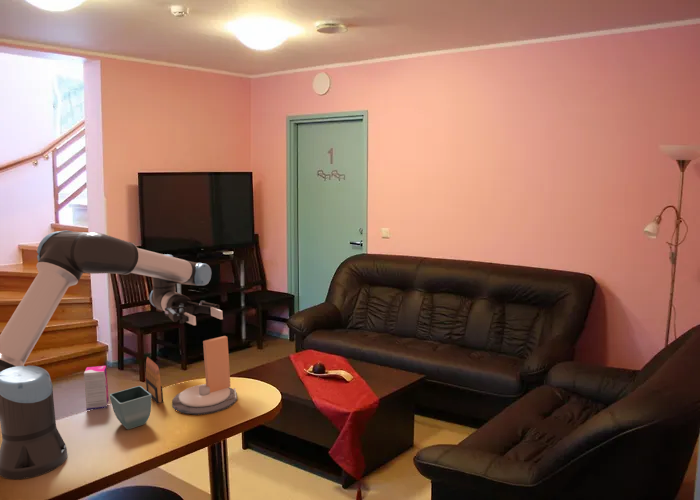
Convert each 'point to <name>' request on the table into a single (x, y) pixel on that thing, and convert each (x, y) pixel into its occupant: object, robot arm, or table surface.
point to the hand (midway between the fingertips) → (208, 318)
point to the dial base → (207, 409)
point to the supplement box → (96, 387)
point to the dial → (211, 376)
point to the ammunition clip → (153, 381)
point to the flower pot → (132, 406)
